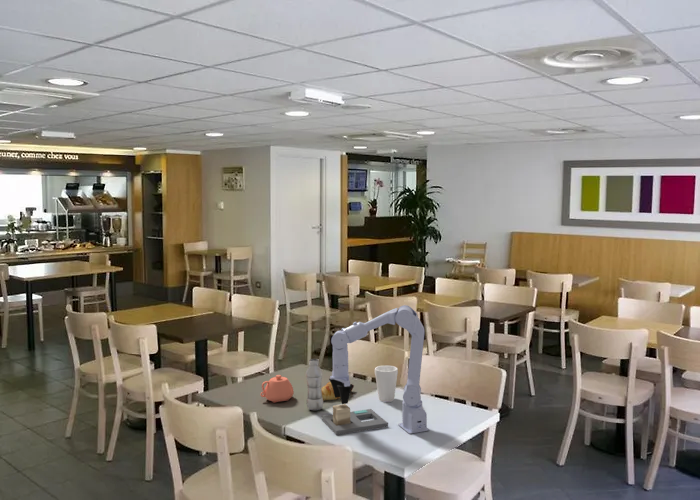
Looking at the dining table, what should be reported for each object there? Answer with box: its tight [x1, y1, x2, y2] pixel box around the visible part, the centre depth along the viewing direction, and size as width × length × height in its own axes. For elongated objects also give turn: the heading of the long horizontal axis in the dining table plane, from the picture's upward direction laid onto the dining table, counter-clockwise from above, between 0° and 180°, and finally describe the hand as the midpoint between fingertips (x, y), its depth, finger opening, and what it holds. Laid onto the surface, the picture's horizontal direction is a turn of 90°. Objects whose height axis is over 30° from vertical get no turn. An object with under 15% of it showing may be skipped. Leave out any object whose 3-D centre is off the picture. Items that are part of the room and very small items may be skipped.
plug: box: [332, 403, 351, 426], centre depth 223 cm, size 5×5×7 cm
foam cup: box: [374, 365, 399, 403], centre depth 251 cm, size 10×9×13 cm
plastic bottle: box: [305, 358, 324, 411], centre depth 240 cm, size 6×7×20 cm
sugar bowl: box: [260, 374, 295, 404], centre depth 253 cm, size 12×14×10 cm
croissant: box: [321, 381, 355, 401], centre depth 256 cm, size 21×10×8 cm, turn 129°
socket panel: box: [321, 408, 389, 436], centre depth 225 cm, size 16×20×2 cm
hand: (341, 400), depth 223 cm, fingers open, 7 cm apart
